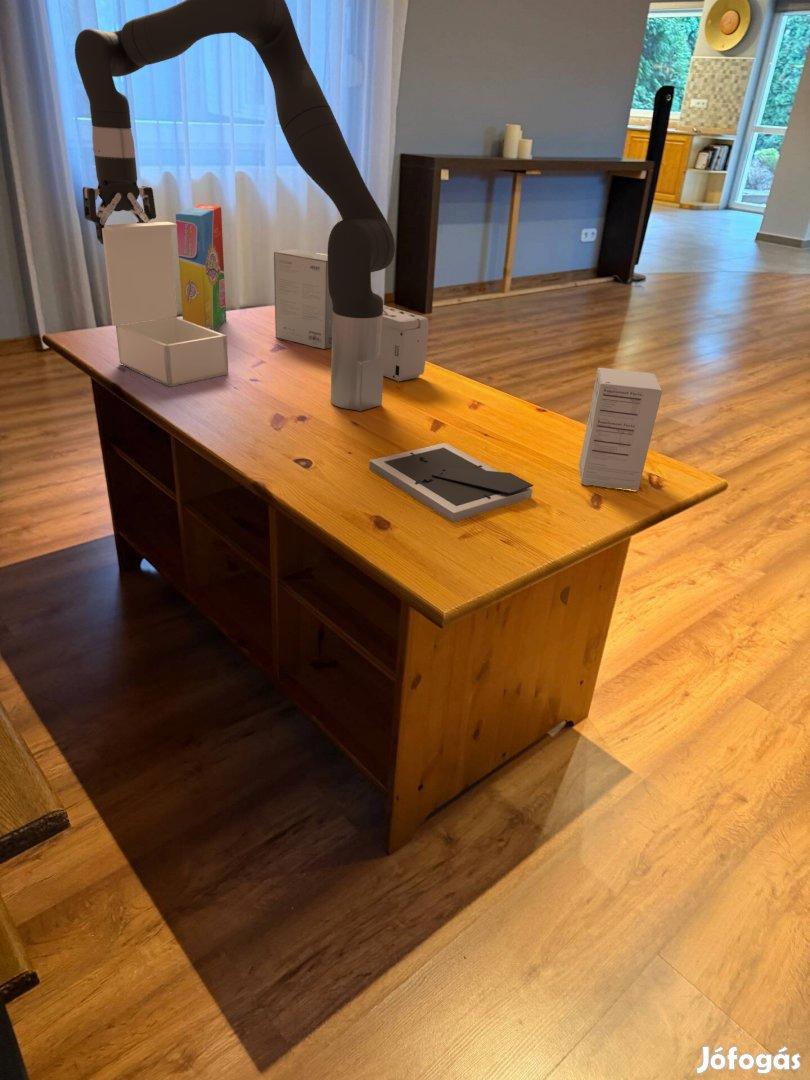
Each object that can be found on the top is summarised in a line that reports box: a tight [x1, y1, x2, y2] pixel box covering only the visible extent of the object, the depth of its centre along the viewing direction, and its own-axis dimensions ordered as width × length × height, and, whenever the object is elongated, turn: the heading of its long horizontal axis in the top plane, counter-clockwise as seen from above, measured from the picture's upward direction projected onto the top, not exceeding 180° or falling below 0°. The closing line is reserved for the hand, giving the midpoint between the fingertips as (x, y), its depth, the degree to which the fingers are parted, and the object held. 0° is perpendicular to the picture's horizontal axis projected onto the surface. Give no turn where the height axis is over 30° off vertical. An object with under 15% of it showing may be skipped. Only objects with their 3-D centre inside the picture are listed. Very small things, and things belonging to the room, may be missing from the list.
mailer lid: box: [102, 221, 178, 327], centre depth 155 cm, size 19×15×8 cm
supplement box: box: [578, 367, 663, 491], centre depth 121 cm, size 10×9×17 cm
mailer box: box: [115, 316, 229, 387], centre depth 156 cm, size 18×14×8 cm
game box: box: [175, 204, 227, 331], centre depth 180 cm, size 21×6×27 cm, turn 179°
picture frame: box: [368, 442, 534, 523], centre depth 119 cm, size 16×3×21 cm
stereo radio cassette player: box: [381, 304, 429, 383], centre depth 163 cm, size 21×8×20 cm, turn 46°
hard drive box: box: [273, 248, 333, 350], centre depth 179 cm, size 16×8×20 cm, turn 58°
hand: (124, 242), depth 155 cm, fingers open, 8 cm apart
